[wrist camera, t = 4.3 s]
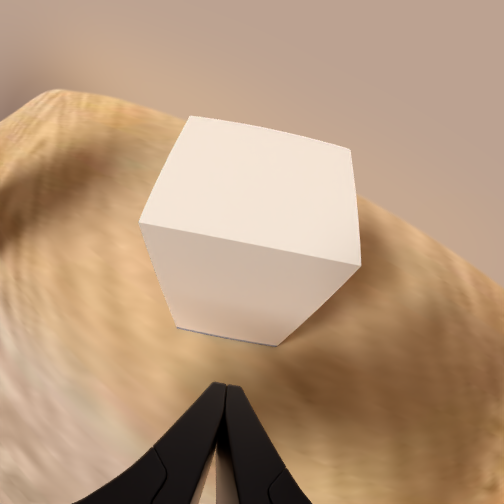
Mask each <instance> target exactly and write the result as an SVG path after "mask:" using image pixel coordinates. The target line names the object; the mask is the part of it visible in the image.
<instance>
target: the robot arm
mask: <svg viewBox="0 0 504 504" xmlns="http://www.w3.org/2000/svg"><path fill="white" fill-rule="evenodd" d="M216 444H217V445H216ZM215 449H216V504H312V503H311V501H310V500H309V499H308V498H307V497H306V495H305V494H304V493H303V492H302V490H301V489H300V487H299V486H298V484H297V483H296V481H295V480H294V479H293V477H292V475H291V474H290V472H289V470H288V469H287V468H286V466H285V464H284V462H283V461H282V459H281V457H280V456H279V454H278V452H277V451H276V449H275V447H274V445H273V444H272V442H271V440H270V439H269V437H268V435H267V433H266V432H265V430H264V428H263V426H262V424H261V423H260V421H259V419H258V417H257V415H256V414H255V412H254V410H253V408H252V406H251V404H250V403H249V401H248V399H247V397H246V395H245V393H244V391H243V389H242V388H241V387H240V386H236V385H230V384H229V385H226V384H224V383H219V382H212V383H211V384H210V386H209V387H208V388H207V389H206V390H205V391H204V392H203V393H202V394H201V396H200V397H199V398H198V399H197V400H196V401H195V402H194V403H193V404H192V405H191V406H190V407H189V409H188V410H187V411H186V412H185V413H184V414H183V415H182V416H181V417H180V418H179V419H178V420H177V421H176V422H175V423H174V425H173V426H172V427H171V428H170V429H169V430H168V431H167V432H166V433H165V434H164V435H163V436H162V437H161V438H160V439H159V440H158V441H157V442H156V443H155V444H154V445H153V447H151V448H150V449H149V450H148V451H147V452H146V453H145V454H144V455H143V456H142V457H141V458H140V459H139V460H138V461H136V462H135V463H134V464H133V465H132V466H131V467H129V468H128V469H127V470H125V471H124V472H123V473H121V474H120V475H119V476H117V477H116V478H114V479H113V480H111V481H110V482H108V483H107V484H105V485H104V486H102V487H101V488H99V489H98V490H96V491H94V492H93V493H91V494H90V495H88V496H86V497H85V498H83V499H81V500H79V501H77V502H75V503H72V504H198V503H199V500H200V497H201V494H202V491H203V488H204V485H205V481H206V478H207V475H208V472H209V469H210V466H211V462H212V459H213V456H214V452H215Z"/></svg>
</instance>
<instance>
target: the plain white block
mask: <svg viewBox="0 0 504 504" xmlns="http://www.w3.org/2000/svg"><path fill="white" fill-rule="evenodd" d="M138 223H139V226H140V229H141V232H142V235H143V238H144V241H145V244H146V247H147V250H148V253H149V256H150V259H151V262H152V264H153V267H154V270H155V273H156V276H157V278H158V281H159V284H160V286H161V289H162V291H163V294H164V297H165V299H166V302H167V304H168V307H169V309H170V312H171V314H172V317H173V319H174V322H175V324H176V326H177V328H179V329H183V330H188V331H192V332H197V333H202V334H206V335H211V336H216V337H222V338H227V339H232V340H238V341H243V342H249V343H255V344H261V345H268V346H274V347H277V346H278V345H279V344H280V343H281V342H282V341H283V340H284V339H286V338H287V337H288V336H289V335H290V334H291V333H292V332H293V331H295V330H296V329H297V328H298V327H299V326H300V325H301V324H302V323H303V322H304V321H306V320H307V319H308V318H309V317H310V316H311V315H312V314H313V313H314V312H315V311H316V310H317V309H318V308H319V307H321V306H322V305H323V304H324V303H325V302H326V301H327V300H328V299H329V298H330V297H331V296H332V295H333V294H334V293H335V292H336V291H337V290H338V289H339V288H340V287H341V286H342V285H343V284H344V283H345V282H346V281H347V280H348V279H349V278H350V277H351V276H352V275H353V274H354V273H355V272H356V271H357V270H358V269H359V268H360V267H361V250H360V234H359V221H358V210H357V200H356V191H355V182H354V175H353V166H352V160H351V153H350V149H348V148H344V147H341V146H338V145H334V144H330V143H327V142H323V141H319V140H316V139H312V138H308V137H303V136H299V135H295V134H291V133H286V132H282V131H278V130H273V129H268V128H263V127H259V126H253V125H248V124H242V123H236V122H231V121H224V120H218V119H211V118H204V117H197V116H190V117H189V119H188V120H187V122H186V124H185V126H184V128H183V130H182V131H181V133H180V135H179V137H178V139H177V141H176V143H175V145H174V147H173V149H172V151H171V152H170V154H169V156H168V158H167V160H166V162H165V164H164V167H163V169H162V171H161V173H160V175H159V177H158V179H157V181H156V183H155V185H154V188H153V190H152V192H151V194H150V196H149V199H148V201H147V203H146V205H145V208H144V210H143V212H142V215H141V217H140V219H139V222H138Z"/></svg>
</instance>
